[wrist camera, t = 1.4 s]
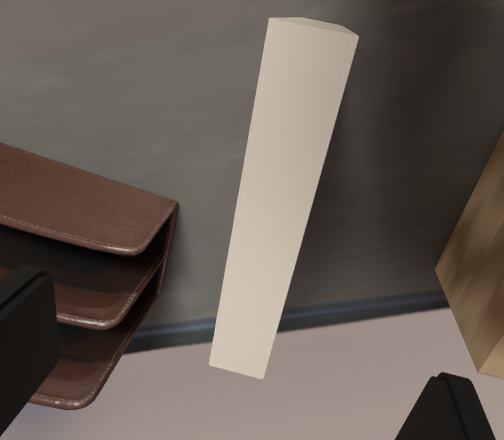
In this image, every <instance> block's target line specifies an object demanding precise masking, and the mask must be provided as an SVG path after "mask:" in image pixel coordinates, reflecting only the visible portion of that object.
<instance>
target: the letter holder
mask: <svg viewBox="0 0 504 440" xmlns="http://www.w3.org/2000/svg"><path fill="white" fill-rule="evenodd" d="M177 210H178V202H176V201H172V200H169V199H166V198H163V197H161V196H157V195H154V194H152V193H148V192H145V191H144V190H140V189H136V188H133V187H131V186H127V185H124V184H122V183H118V182H115V181H112V180H109V179H107V178H103V177H101V176H98V175H95V174H91V173H89V172H86V171H82V170H79V169H77V168H74V167H71V166H68V165H65V164H62V163H59V162H56V161H53V160H50V159H47V158H45V157H41V156H38V155H35V154H33V153H28V152H26V151H22V150H21V149H17V148H13V147H10V146H8V145H5V144H2V143H0V280H1V279H3V278H4V277H5V276H6V275H8V274H9V273H10V272H12V271H13V270H14V269H15V268H17V267H18V266H20V265H27V266H31V267H35V268H39V269H43V270H46V271H47V272H48V273H49V277H50V278H52V279H53V280H54V289H55V301H56V314H57V326H58V339H59V351H60V355H59V360H58V362H57V364H56V366H55V368H54V369H53V370H52V372H51V373H50V374H49V376H48V377H47V378H46V379H45V381H44V382H43V383H42V384H41V386H40V387H39V388H38V389H37V391H36V392H35V393H34V395H33V396H32V397H31V398H30V400H29V401H28V403H33V404H37V405H42V406H48V407H53V408H58V409H64V410H77V409H81V408H84V407H86V406H88V405H89V404H91V403H92V402H93V401H94V400H95V399H96V397H97V396H98V394H99V393H100V391H101V390H102V387H103V386H104V384H105V383H106V381H107V379H108V378H109V376H110V374H111V373H112V371H113V370H114V368H115V366H116V364H117V363H118V361H119V359H120V358H121V356H122V354H123V353H124V351H125V349H126V348H127V346H128V344H129V342H130V341H131V339H132V338H133V336H134V335H135V333H136V331H137V330H138V328H139V327H140V325H141V324H142V322H143V320H144V319H145V317H146V316H147V314H148V312H149V311H150V309H151V307H152V306H153V304H154V303H155V301H156V300H157V298H158V297H159V295H160V292H161V288H162V284H163V279H164V274H165V269H166V264H167V260H168V255H169V250H170V245H171V240H172V235H173V230H174V225H175V220H176V215H177Z"/></svg>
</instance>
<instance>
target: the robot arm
mask: <svg viewBox="0 0 504 440" xmlns="http://www.w3.org/2000/svg"><path fill="white" fill-rule="evenodd" d="M59 355H60V351H59V339H58V326H57V314H56V301H55V289H54V280H53V279H52V278H50V277H49V273H48V272H47V271H46V270H43V269H39V268H35V267H31V266H27V265H20V266H18V267H17V268H15V269H14V270H13V271H12V272H10V273H9V274H8V275H6V276H5V277H4V278H3V279H1V280H0V436H1V435H2V434H3V432H4V431H5V430H6V429H7V428H8V426H9V425H10V424H11V422H12V421H13V420H14V419H15V417H16V416H17V415H18V414H19V412H20V411H21V410H22V408H23V407H24V406H25V405H26V403H27V402H28V401H29V400H30V398H31V397H32V396H33V395H34V393H35V392H36V391H37V389H38V388H39V387H40V386H41V384H42V383H43V382H44V381H45V379H46V378H47V377H48V376H49V374H50V373H51V372H52V370H53V369H54V368H55V366H56V364H57V362H58V360H59ZM395 440H496V439H495V437H494V434H493V432H492V430H491V427H490V424H489V422H488V420H487V417H486V415H485V412H484V410H483V408H482V405H481V402H480V400H479V398H478V395H477V393H476V390H475V388H474V385H473V384H472V382H471V381H470V380H469V379H468V378H463V377H460V376H456V375H452V374H448V373H444V372H442V373H440V374H439V375H438V376H437V377H434V376H432V377H431V378H430V379H429V381H428V382H427V384H426V386H425V388H424V389H423V391H422V393H421V395H420V396H419V398H418V400H417V402H416V403H415V405H414V407H413V409H412V410H411V412H410V414H409V416H408V417H407V419H406V421H405V423H404V424H403V426H402V428H401V430H400V431H399V433H398V435H397V437H396V438H395Z"/></svg>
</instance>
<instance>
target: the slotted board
mask: <svg viewBox="0 0 504 440" xmlns="http://www.w3.org/2000/svg"><path fill="white" fill-rule="evenodd" d="M435 272H436V274H437V276H438V279H439V281H440V284H441V286H442V288H443V291H444V293H445V296H446V298H447V300H448V303H449V305H450V307H451V310H452V312H453V314H454V317H455V319H456V322H457V324H458V327H459V329H460V331H461V334H462V336H463V338H464V341H465V343H466V346H467V348H468V350H469V353H470V355H471V357H472V360H473V362H474V365H475V367H476V369H477V372H478V373H481V374H485V375H489V376H493V377H497V378H501V379H504V130H503V132H502V134H501V136H500V138H499V140H498V142H497V144H496V146H495V148H494V150H493V152H492V154H491V156H490V158H489V160H488V162H487V164H486V166H485V168H484V170H483V172H482V175H481V177H480V179H479V181H478V183H477V185H476V187H475V189H474V191H473V193H472V195H471V197H470V199H469V201H468V203H467V205H466V207H465V209H464V211H463V213H462V215H461V217H460V219H459V221H458V223H457V225H456V227H455V229H454V231H453V233H452V235H451V237H450V239H449V241H448V243H447V245H446V247H445V249H444V251H443V253H442V255H441V257H440V259H439V261H438V263H437V265H436V267H435Z"/></svg>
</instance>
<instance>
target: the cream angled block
mask: <svg viewBox="0 0 504 440" xmlns="http://www.w3.org/2000/svg"><path fill="white" fill-rule="evenodd" d="M358 39H359V36H358V35H356V34H355V33H353V32H352V31H350V30H349V29H347V28H345V27H344V26H342V25H337V24H332V23H327V22H322V21H317V20H312V19H307V18H302V17H299V18H269V22H268V28H267V34H266V39H265V45H264V51H263V57H262V62H261V68H260V74H259V80H258V85H257V91H256V97H255V103H254V108H253V114H252V120H251V125H250V131H249V137H248V143H247V148H246V154H245V160H244V166H243V171H242V177H241V183H240V189H239V194H238V200H237V206H236V212H235V217H234V223H233V229H232V235H231V240H230V246H229V252H228V258H227V263H226V269H225V275H224V281H223V286H222V292H221V298H220V304H219V309H218V315H217V321H216V327H215V332H214V338H213V344H212V350H211V355H210V361H209V365H210V366H214V367H218V368H221V369H225V370H229V371H232V372H236V373H240V374H243V375H247V376H251V377H255V378H258V379H262V380H263V378H264V375H265V371H266V368H267V364H268V360H269V357H270V353H271V350H272V346H273V343H274V339H275V336H276V332H277V328H278V325H279V321H280V318H281V314H282V311H283V307H284V303H285V300H286V296H287V293H288V289H289V286H290V282H291V278H292V275H293V271H294V268H295V264H296V261H297V257H298V253H299V250H300V246H301V243H302V239H303V235H304V232H305V228H306V225H307V221H308V218H309V214H310V210H311V207H312V203H313V200H314V196H315V193H316V189H317V185H318V182H319V178H320V175H321V171H322V168H323V164H324V160H325V157H326V153H327V150H328V146H329V143H330V139H331V135H332V132H333V128H334V125H335V121H336V117H337V114H338V110H339V107H340V103H341V100H342V96H343V92H344V89H345V85H346V82H347V78H348V75H349V71H350V67H351V64H352V60H353V57H354V53H355V50H356V46H357V42H358Z"/></svg>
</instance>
